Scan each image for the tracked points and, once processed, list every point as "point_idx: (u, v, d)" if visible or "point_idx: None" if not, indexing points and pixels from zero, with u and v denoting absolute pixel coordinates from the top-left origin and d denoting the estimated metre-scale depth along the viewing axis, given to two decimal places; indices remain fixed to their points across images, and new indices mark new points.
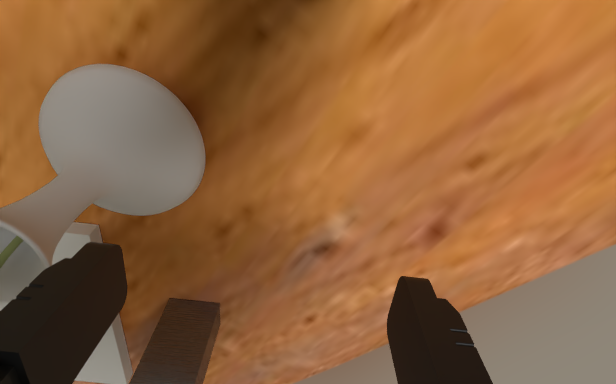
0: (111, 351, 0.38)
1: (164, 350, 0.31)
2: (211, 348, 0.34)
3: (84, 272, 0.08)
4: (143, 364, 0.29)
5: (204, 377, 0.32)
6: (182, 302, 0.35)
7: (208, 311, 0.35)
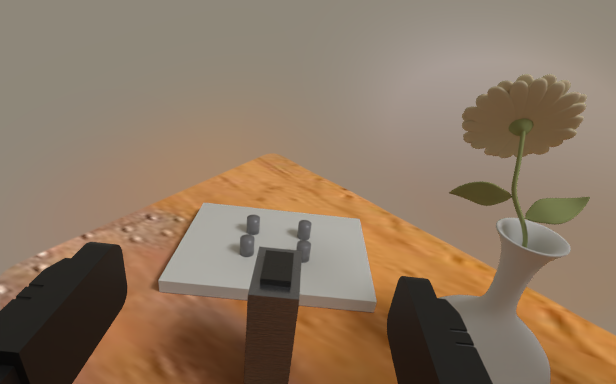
0: (222, 281, 0.36)
1: None
2: (255, 375, 0.25)
3: (84, 272, 0.08)
4: None
5: (246, 350, 0.24)
6: None
7: None
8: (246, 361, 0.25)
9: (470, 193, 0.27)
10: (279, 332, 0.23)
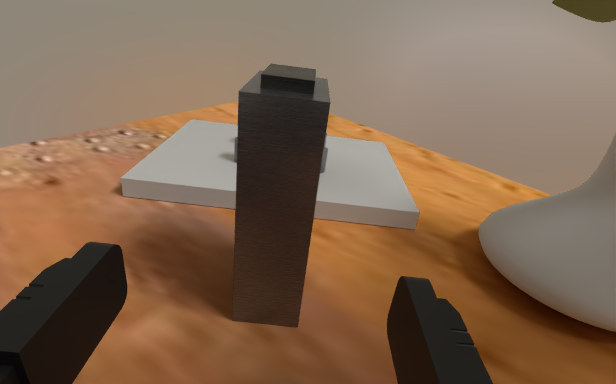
0: (209, 183, 0.26)
1: None
2: (251, 266, 0.16)
3: (84, 272, 0.08)
4: None
5: (237, 217, 0.15)
6: None
7: None
8: (237, 239, 0.15)
9: None
10: (293, 178, 0.14)
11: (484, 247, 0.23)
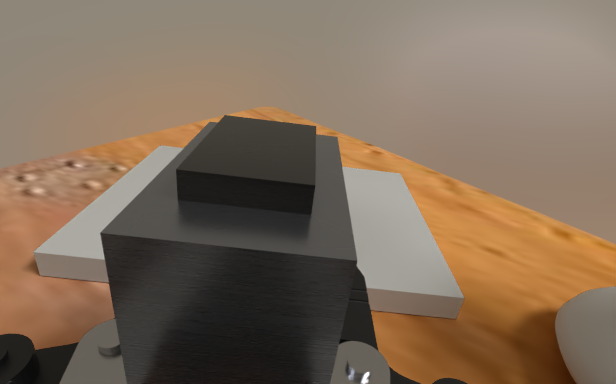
0: None
1: None
2: None
3: None
4: None
5: None
6: None
7: None
8: None
9: None
10: None
11: (575, 372, 0.15)
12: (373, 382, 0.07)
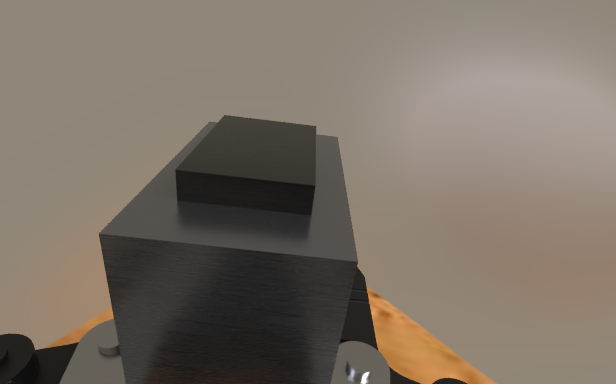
0: None
1: None
2: None
3: None
4: None
5: None
6: None
7: None
8: None
9: None
10: None
11: None
12: (373, 382, 0.07)
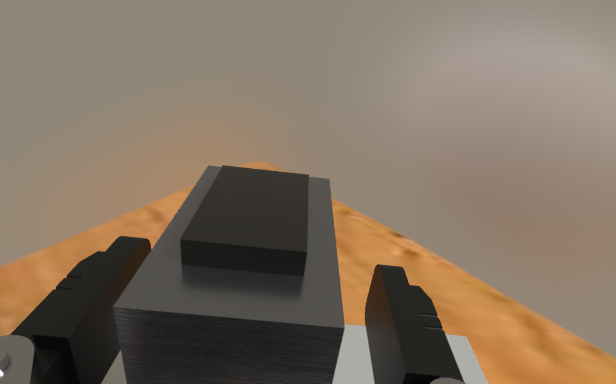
0: None
1: None
2: None
3: (119, 264, 0.09)
4: None
5: None
6: None
7: None
8: None
9: None
10: None
11: None
12: None
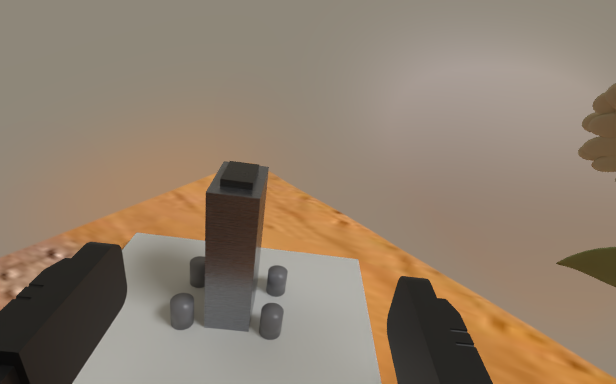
0: (128, 382, 0.21)
1: (260, 240, 0.26)
2: (216, 292, 0.24)
3: (84, 272, 0.08)
4: (263, 216, 0.27)
5: (206, 262, 0.23)
6: (255, 293, 0.29)
7: (251, 311, 0.26)
8: (206, 275, 0.24)
9: (605, 267, 0.13)
10: (240, 239, 0.22)
11: None
12: None
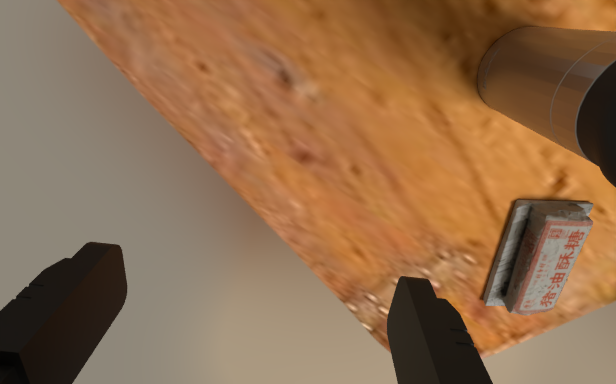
0: None
1: None
2: None
3: (84, 272, 0.08)
4: None
5: None
6: None
7: None
8: None
9: None
10: None
11: None
12: None
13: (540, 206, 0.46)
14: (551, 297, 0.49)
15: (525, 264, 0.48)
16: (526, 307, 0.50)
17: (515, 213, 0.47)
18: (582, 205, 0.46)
